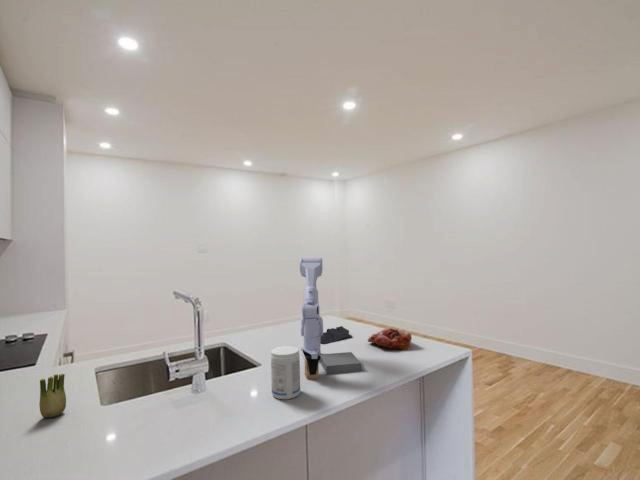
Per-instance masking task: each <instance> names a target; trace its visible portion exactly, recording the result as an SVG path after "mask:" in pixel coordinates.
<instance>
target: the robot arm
mask: <svg viewBox="0 0 640 480" xmlns="http://www.w3.org/2000/svg"><path fill="white" fill-rule="evenodd" d="M299 271H300V275H301V277H304V278H305V281H306V288H305V289H304V290H303V305H302V306H301V321H300V336H301V337H303V347H300V351H301V352H302V353H301V355H302V357H303V359H304V361H305V359H306V360H307V362H308V367H309V373H310V375H316V371H317V366H318V364H319V363H320V358H321V356H320V355H319V354H322V353H321V349H322V348H321V343H320V338H321V336H322V335H323V333H324V320H323V318H322V316H320V305H319V304H320V302H319V290H318V289H317V280H318V279H319V277H321V276H322V274H323V258H322V257H300V259H299Z"/></svg>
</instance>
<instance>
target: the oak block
mask: <svg viewBox="0 0 640 480" xmlns="http://www.w3.org/2000/svg"><path fill="white" fill-rule="evenodd" d="M319 373H320V371H319V363H318V366H317V371H316V375H310V373H309V367H308V362H307V360H306V359H305V360H304V375H305V379H306V380H312V379H320V378H319V377H320V374H319Z"/></svg>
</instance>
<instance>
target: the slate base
mask: <svg viewBox="0 0 640 480" xmlns="http://www.w3.org/2000/svg"><path fill="white" fill-rule="evenodd" d="M319 355H320V356H321V358H320V360H319V363H320V365H321V367H322V368H323V371H324V372H325V374H327V375H328V374H339V373H341V374H342V373H351V372H359V371H360V372H361V371H362V362H361V361H360V360H359V359H358V358H357V356H355V355H354V353H353V352H352V351H347V352H346V351H345V352H335V353H321V354H319Z"/></svg>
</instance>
